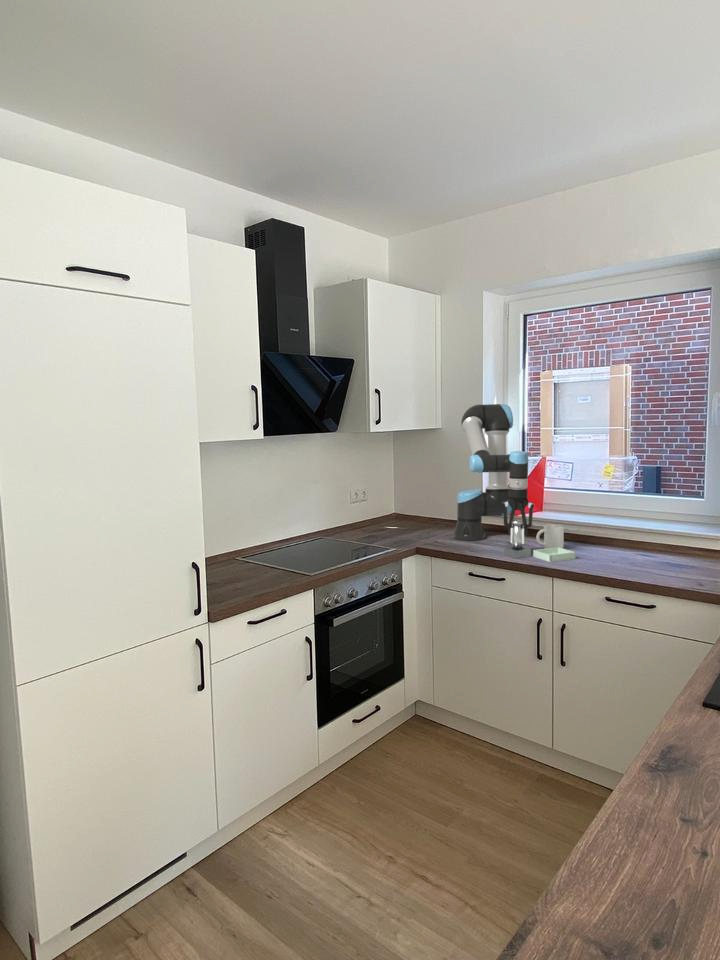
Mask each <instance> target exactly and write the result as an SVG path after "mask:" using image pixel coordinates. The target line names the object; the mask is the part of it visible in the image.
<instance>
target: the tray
mask: <svg viewBox="0 0 720 960" xmlns="http://www.w3.org/2000/svg"><path fill="white" fill-rule="evenodd" d="M532 557H533V558H536V559H540V560H542V561H546V562H548V563H555V562H561V561H570V560H576V559H577V552H576V551H573V550H571V549H570V550H569V549H565V548H564V547H563V548H559V547H555V548H546V549H545V548H539V549H533V550H532Z"/></svg>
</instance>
